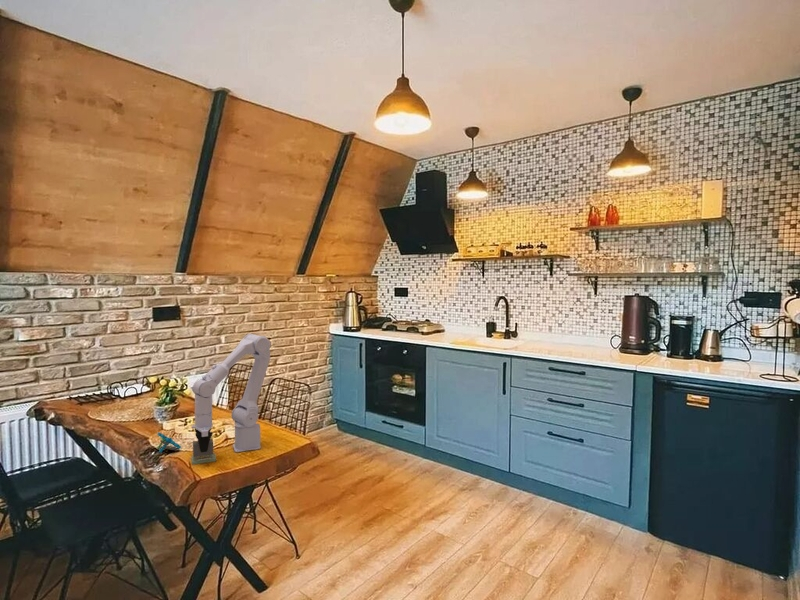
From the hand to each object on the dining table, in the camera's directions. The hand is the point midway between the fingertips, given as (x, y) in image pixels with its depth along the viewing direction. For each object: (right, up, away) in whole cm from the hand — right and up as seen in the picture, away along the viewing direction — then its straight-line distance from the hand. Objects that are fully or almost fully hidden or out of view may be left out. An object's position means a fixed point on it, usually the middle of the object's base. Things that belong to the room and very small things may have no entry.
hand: (203, 449), depth 166 cm
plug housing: (0, -2, 0) cm, 2 cm away
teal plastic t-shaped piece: (-17, -3, +8) cm, 19 cm away
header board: (0, -4, 0) cm, 4 cm away
